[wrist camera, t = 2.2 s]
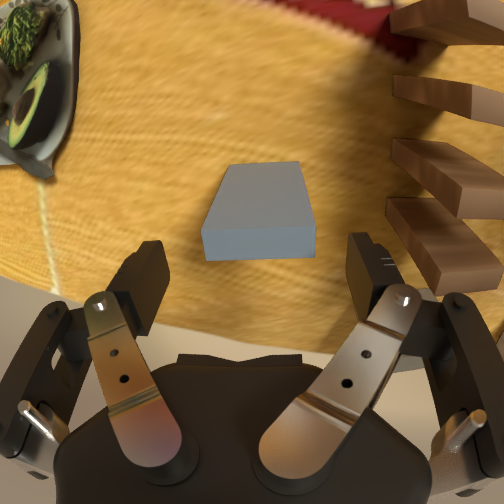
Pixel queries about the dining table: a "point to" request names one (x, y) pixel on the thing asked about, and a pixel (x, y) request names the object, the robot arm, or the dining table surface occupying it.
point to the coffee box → (501, 345)
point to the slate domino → (260, 214)
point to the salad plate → (37, 80)
